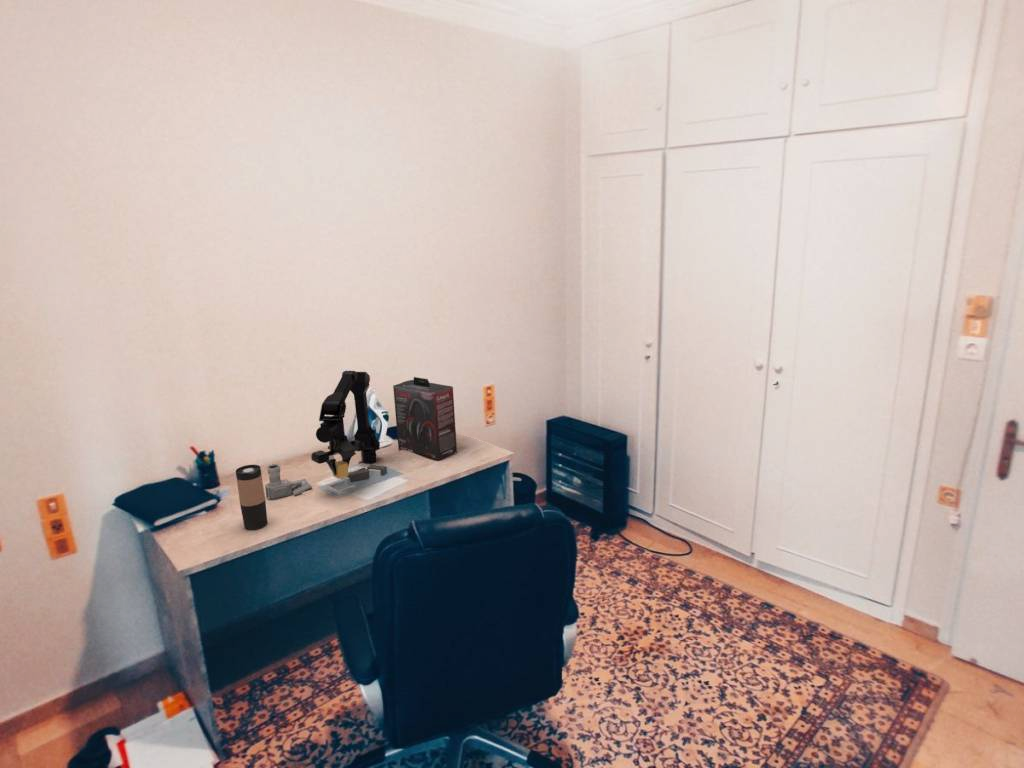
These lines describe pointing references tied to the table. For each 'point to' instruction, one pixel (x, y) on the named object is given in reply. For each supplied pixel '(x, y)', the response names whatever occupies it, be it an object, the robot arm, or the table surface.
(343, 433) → the robot arm
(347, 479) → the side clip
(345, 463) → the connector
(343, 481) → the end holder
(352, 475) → the charcoal brick
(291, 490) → the grey angular model part
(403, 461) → the table surface
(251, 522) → the travel mug
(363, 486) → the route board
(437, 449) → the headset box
